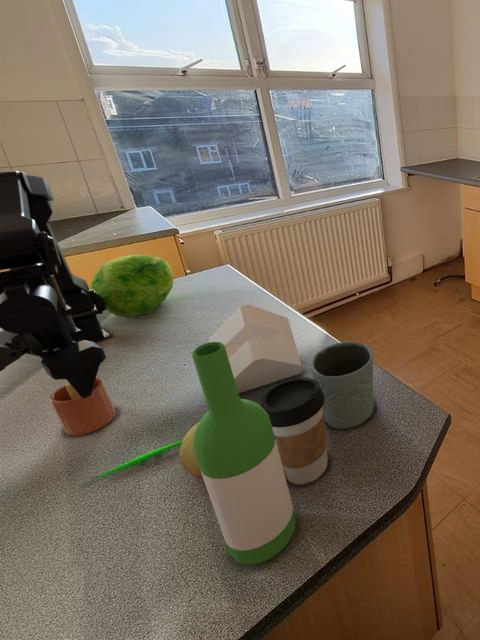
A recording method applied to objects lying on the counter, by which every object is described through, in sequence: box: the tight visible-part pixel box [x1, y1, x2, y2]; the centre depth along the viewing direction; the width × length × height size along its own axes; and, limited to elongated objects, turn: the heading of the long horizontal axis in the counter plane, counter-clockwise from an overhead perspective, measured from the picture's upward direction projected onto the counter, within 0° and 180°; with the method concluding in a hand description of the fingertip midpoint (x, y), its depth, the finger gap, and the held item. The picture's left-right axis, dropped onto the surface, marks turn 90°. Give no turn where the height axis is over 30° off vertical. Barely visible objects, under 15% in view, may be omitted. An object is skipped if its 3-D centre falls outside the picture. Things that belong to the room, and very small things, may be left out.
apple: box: [178, 421, 203, 479], centre depth 66 cm, size 10×10×8 cm
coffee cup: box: [260, 377, 329, 485], centre depth 64 cm, size 8×8×15 cm
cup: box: [49, 377, 116, 436], centre depth 74 cm, size 6×6×7 cm
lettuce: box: [89, 254, 175, 318], centre depth 109 cm, size 15×23×16 cm
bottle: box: [191, 342, 297, 566], centre depth 51 cm, size 8×8×30 cm
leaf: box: [90, 439, 183, 481], centre depth 68 cm, size 1×14×1 cm, turn 132°
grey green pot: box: [310, 341, 375, 430], centre depth 76 cm, size 10×10×12 cm
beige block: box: [208, 304, 303, 394], centre depth 84 cm, size 14×11×18 cm
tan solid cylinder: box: [64, 380, 81, 399], centre depth 74 cm, size 2×2×8 cm
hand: (75, 387), depth 73 cm, fingers open, 9 cm apart
